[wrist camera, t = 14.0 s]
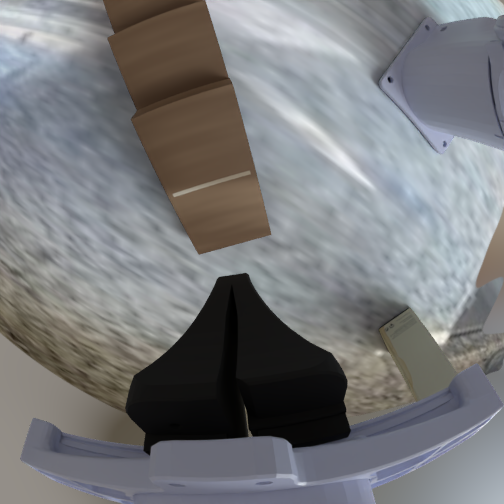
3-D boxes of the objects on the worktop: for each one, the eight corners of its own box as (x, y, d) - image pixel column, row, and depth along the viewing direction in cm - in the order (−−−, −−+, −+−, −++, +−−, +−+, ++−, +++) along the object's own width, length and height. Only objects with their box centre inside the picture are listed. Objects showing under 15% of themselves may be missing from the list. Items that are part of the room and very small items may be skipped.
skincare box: (377, 327, 26) (427, 422, 15) (411, 304, 25) (471, 392, 14) (389, 353, 28) (429, 434, 18) (419, 333, 27) (466, 409, 17)
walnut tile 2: (174, 173, 17) (116, 36, 10) (247, 150, 17) (205, 3, 9) (172, 187, 16) (107, 38, 8) (251, 162, 16) (204, 0, 8)
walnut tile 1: (198, 238, 19) (137, 109, 12) (266, 218, 19) (229, 78, 12) (198, 254, 18) (130, 119, 11) (271, 234, 18) (232, 83, 11)
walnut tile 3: (150, 104, 15) (104, -20, 7) (226, 79, 14) (185, -51, 7) (146, 112, 13) (95, -23, 6) (228, 84, 13) (184, -59, 6)
